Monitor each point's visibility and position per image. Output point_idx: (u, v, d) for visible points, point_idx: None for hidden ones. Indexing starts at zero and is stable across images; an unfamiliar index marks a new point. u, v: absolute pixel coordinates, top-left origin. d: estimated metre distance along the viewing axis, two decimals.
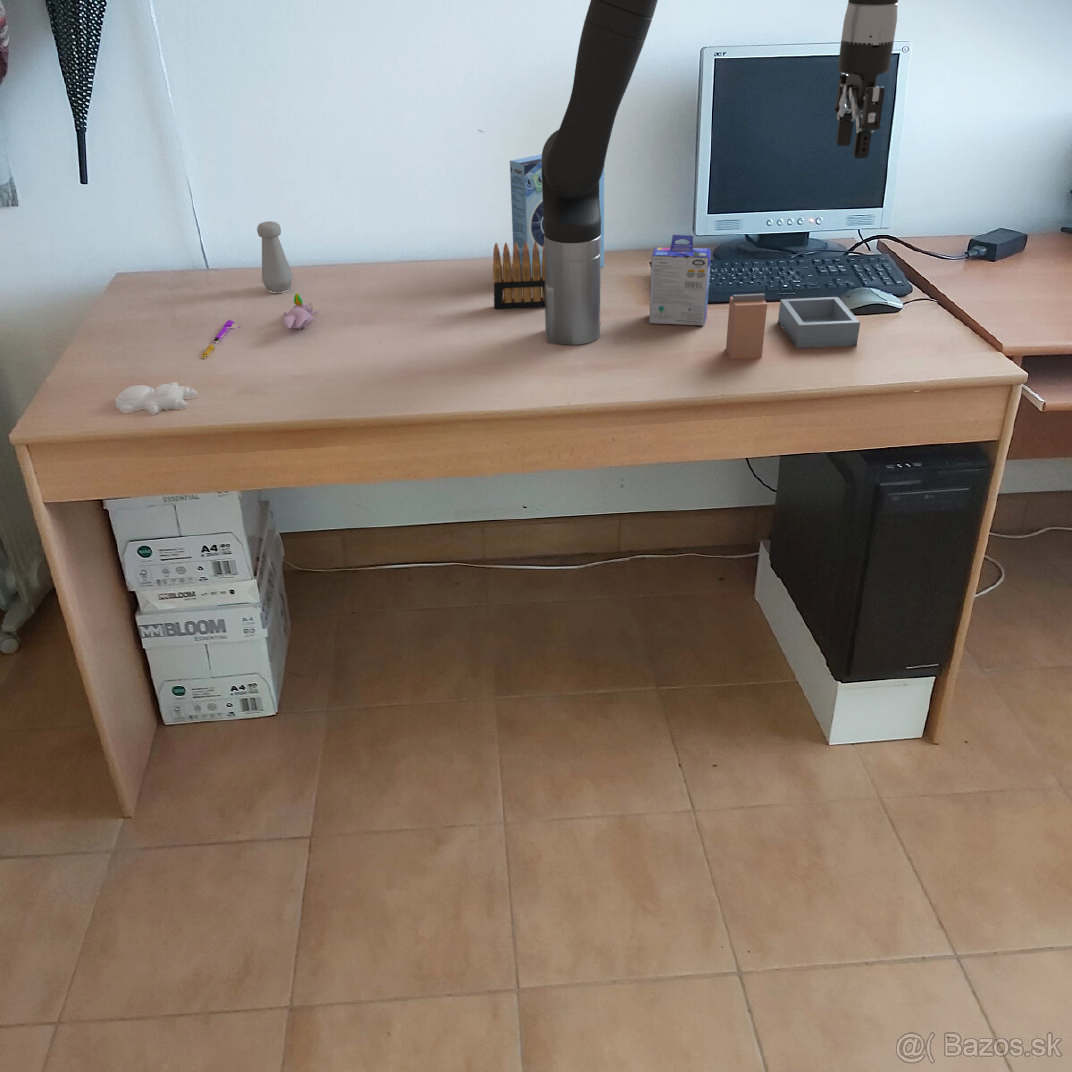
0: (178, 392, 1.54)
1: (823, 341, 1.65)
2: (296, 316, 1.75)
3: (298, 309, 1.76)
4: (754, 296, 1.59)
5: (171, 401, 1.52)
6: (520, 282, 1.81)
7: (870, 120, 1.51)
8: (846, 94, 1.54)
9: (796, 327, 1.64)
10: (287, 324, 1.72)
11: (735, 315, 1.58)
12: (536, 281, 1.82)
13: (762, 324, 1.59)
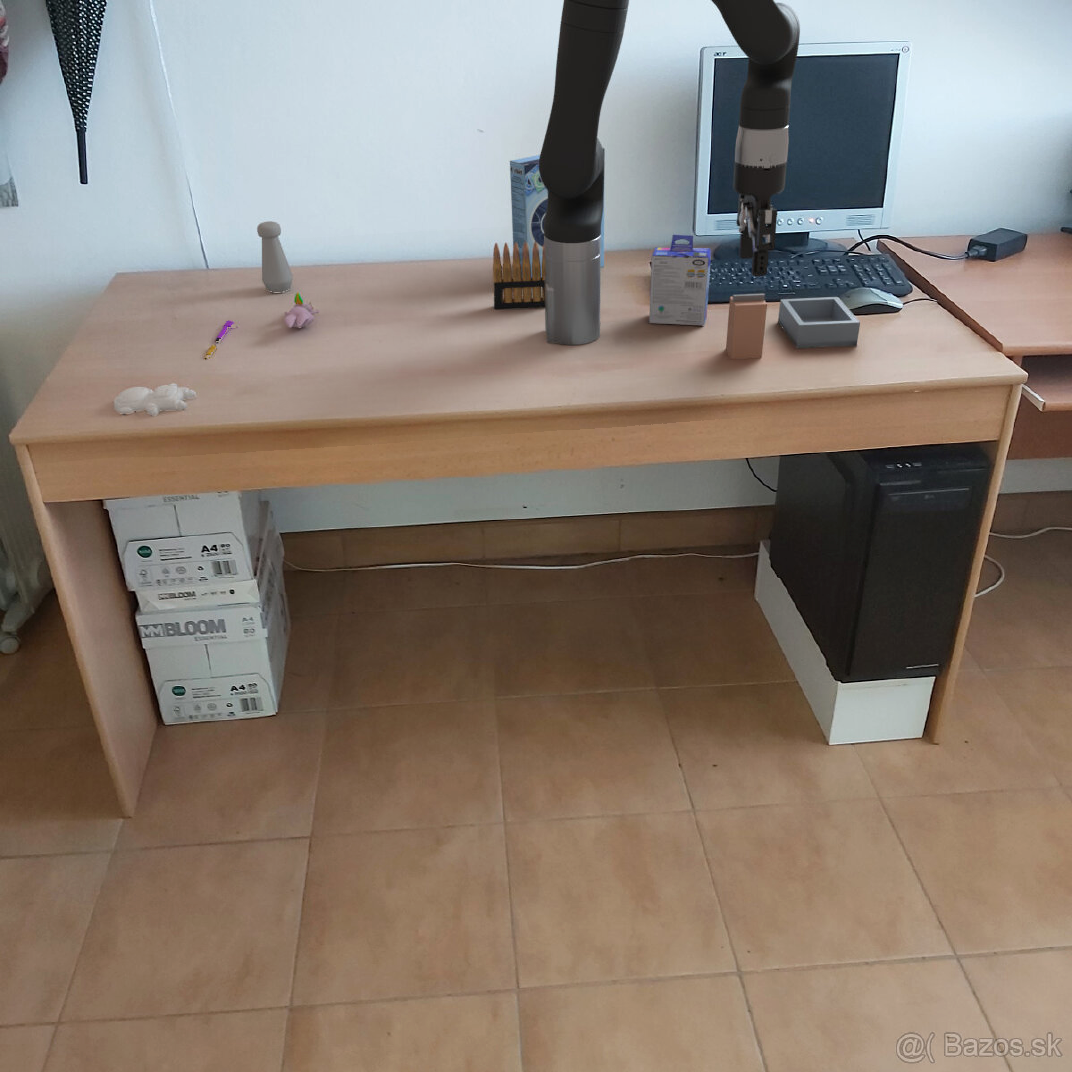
0: (177, 393, 1.53)
1: (823, 341, 1.65)
2: (297, 315, 1.76)
3: (299, 308, 1.76)
4: (754, 296, 1.59)
5: (171, 403, 1.51)
6: (520, 282, 1.81)
7: (766, 239, 1.50)
8: (744, 211, 1.53)
9: (796, 327, 1.64)
10: (288, 323, 1.72)
11: (735, 315, 1.58)
12: (536, 281, 1.82)
13: (762, 324, 1.59)
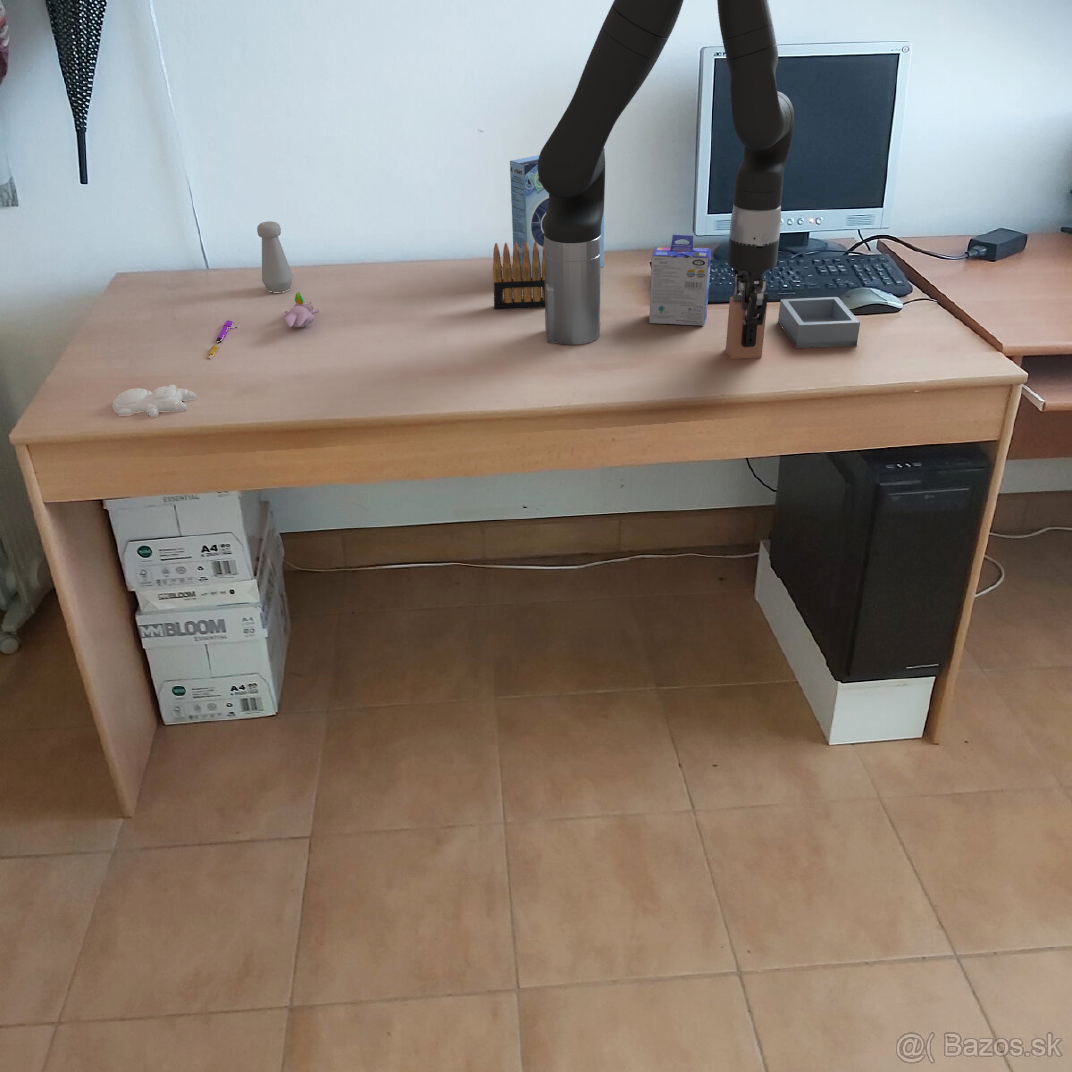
0: (177, 394, 1.53)
1: (823, 341, 1.65)
2: (297, 315, 1.76)
3: (299, 308, 1.76)
4: None
5: (170, 404, 1.51)
6: (520, 282, 1.81)
7: (756, 314, 1.58)
8: (738, 283, 1.58)
9: (796, 327, 1.64)
10: (288, 323, 1.73)
11: (735, 315, 1.58)
12: (536, 281, 1.82)
13: (762, 324, 1.59)
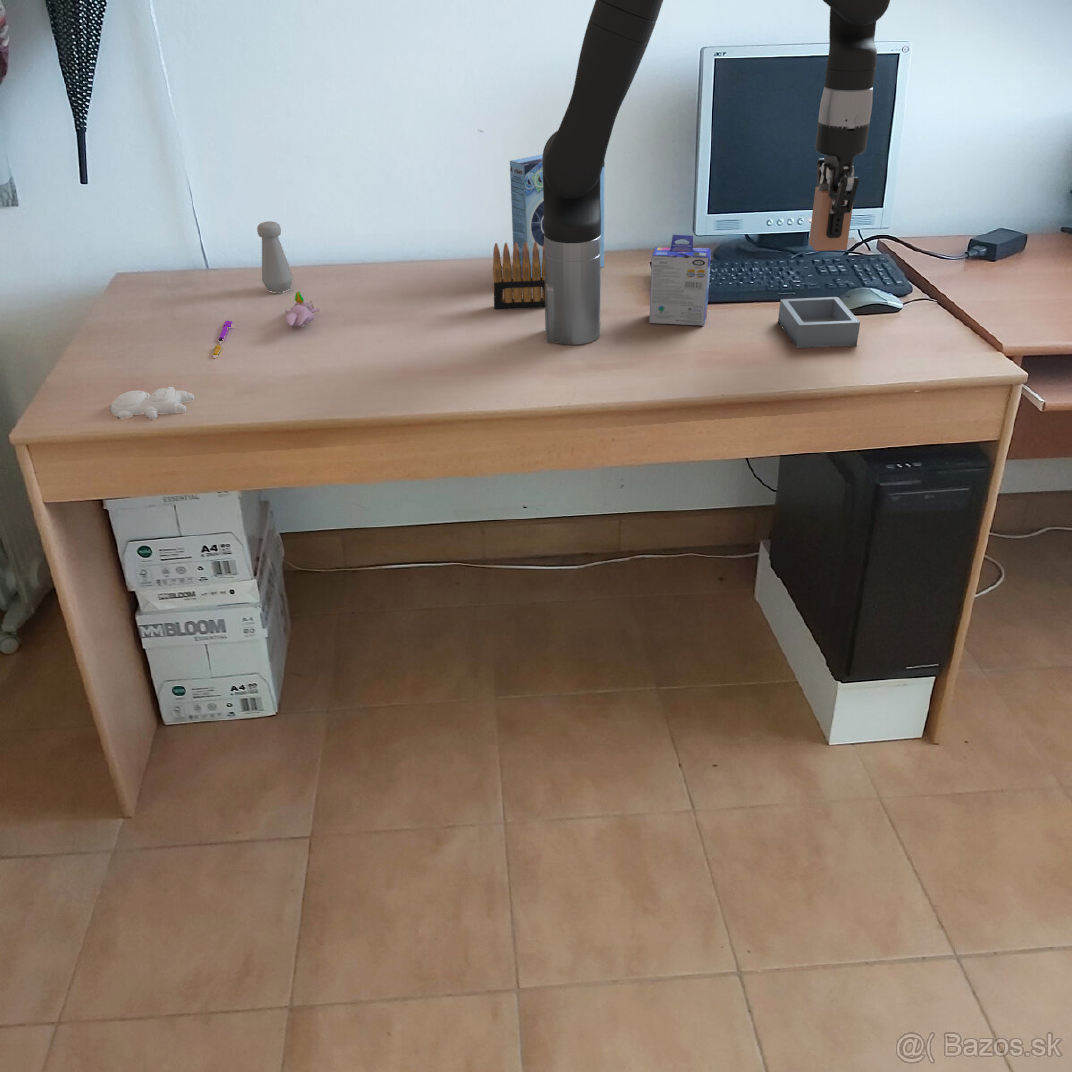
0: (176, 396, 1.52)
1: (823, 341, 1.65)
2: (298, 314, 1.76)
3: (299, 307, 1.77)
4: None
5: (170, 406, 1.50)
6: (520, 282, 1.81)
7: (843, 202, 1.56)
8: (824, 172, 1.57)
9: (796, 327, 1.64)
10: (289, 322, 1.73)
11: (822, 204, 1.56)
12: (536, 281, 1.82)
13: (849, 214, 1.58)
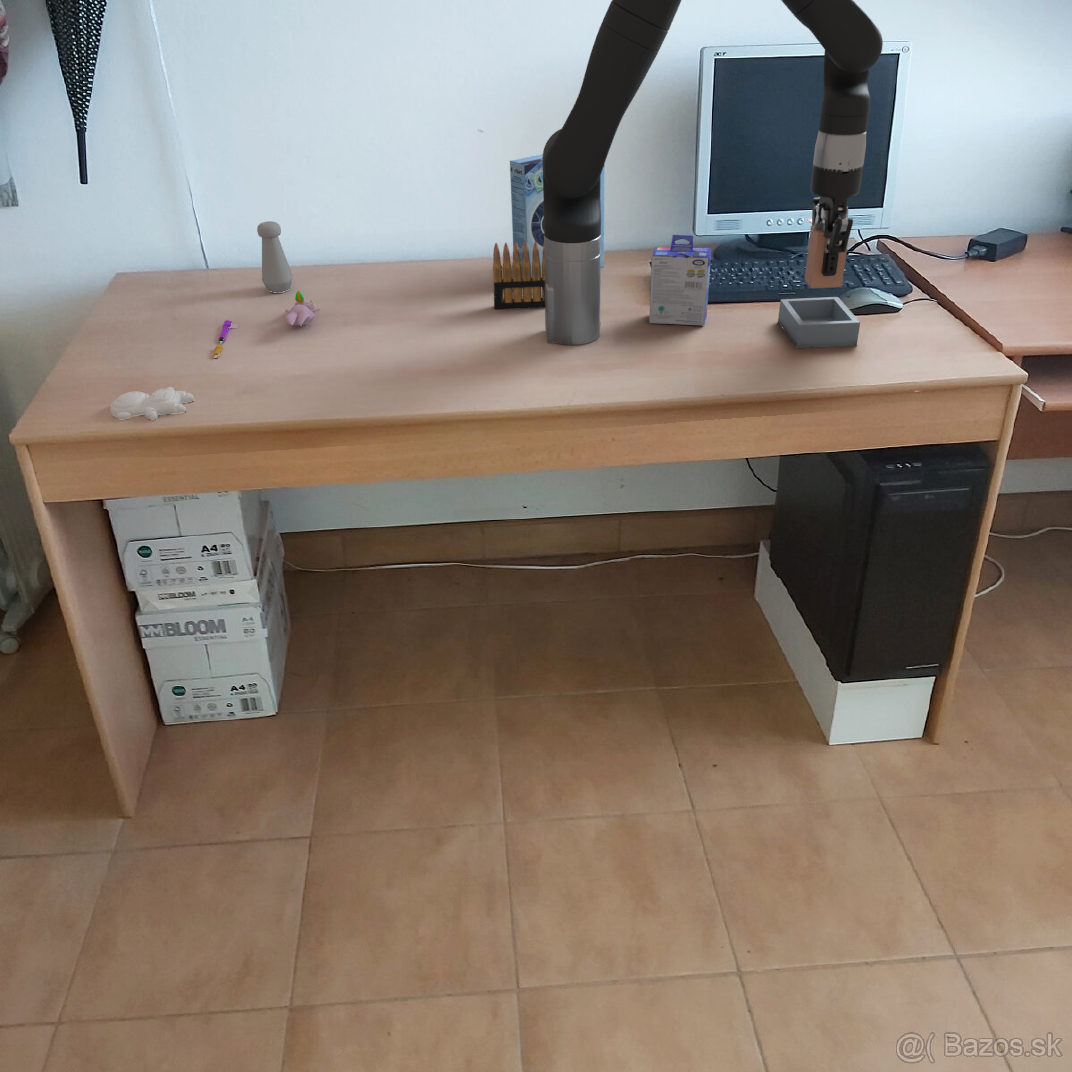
0: (175, 397, 1.52)
1: (823, 341, 1.65)
2: (298, 313, 1.76)
3: (300, 306, 1.77)
4: None
5: (170, 406, 1.50)
6: (520, 282, 1.81)
7: (838, 242, 1.59)
8: (819, 212, 1.60)
9: (796, 327, 1.64)
10: (289, 321, 1.73)
11: (817, 243, 1.60)
12: (536, 281, 1.82)
13: (843, 252, 1.61)
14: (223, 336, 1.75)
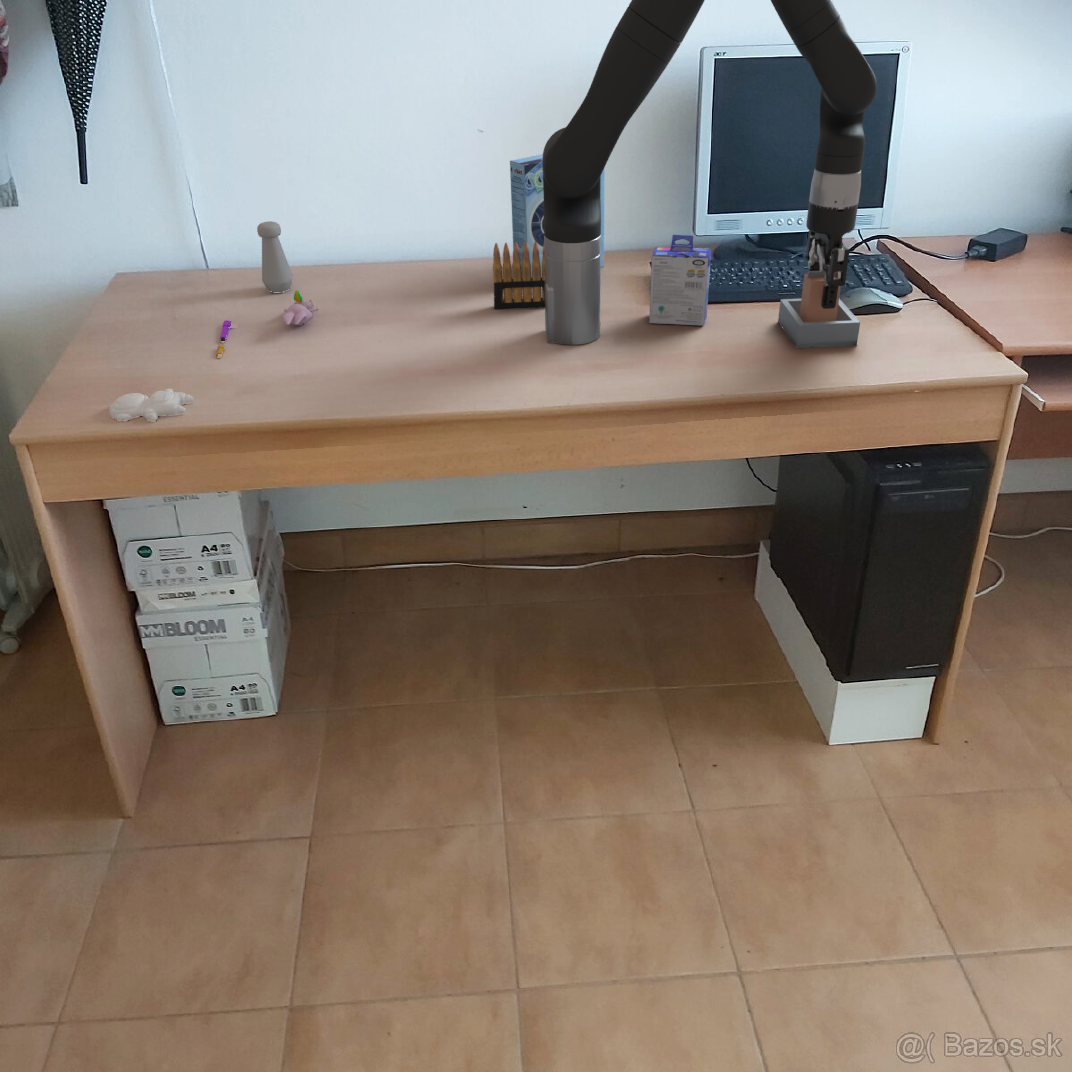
0: (175, 398, 1.52)
1: (823, 341, 1.65)
2: (295, 313, 1.77)
3: (297, 306, 1.77)
4: None
5: (170, 408, 1.50)
6: (520, 282, 1.81)
7: (837, 275, 1.61)
8: (815, 247, 1.63)
9: (796, 327, 1.64)
10: (286, 321, 1.73)
11: (810, 291, 1.64)
12: (536, 281, 1.82)
13: None
14: (224, 336, 1.75)
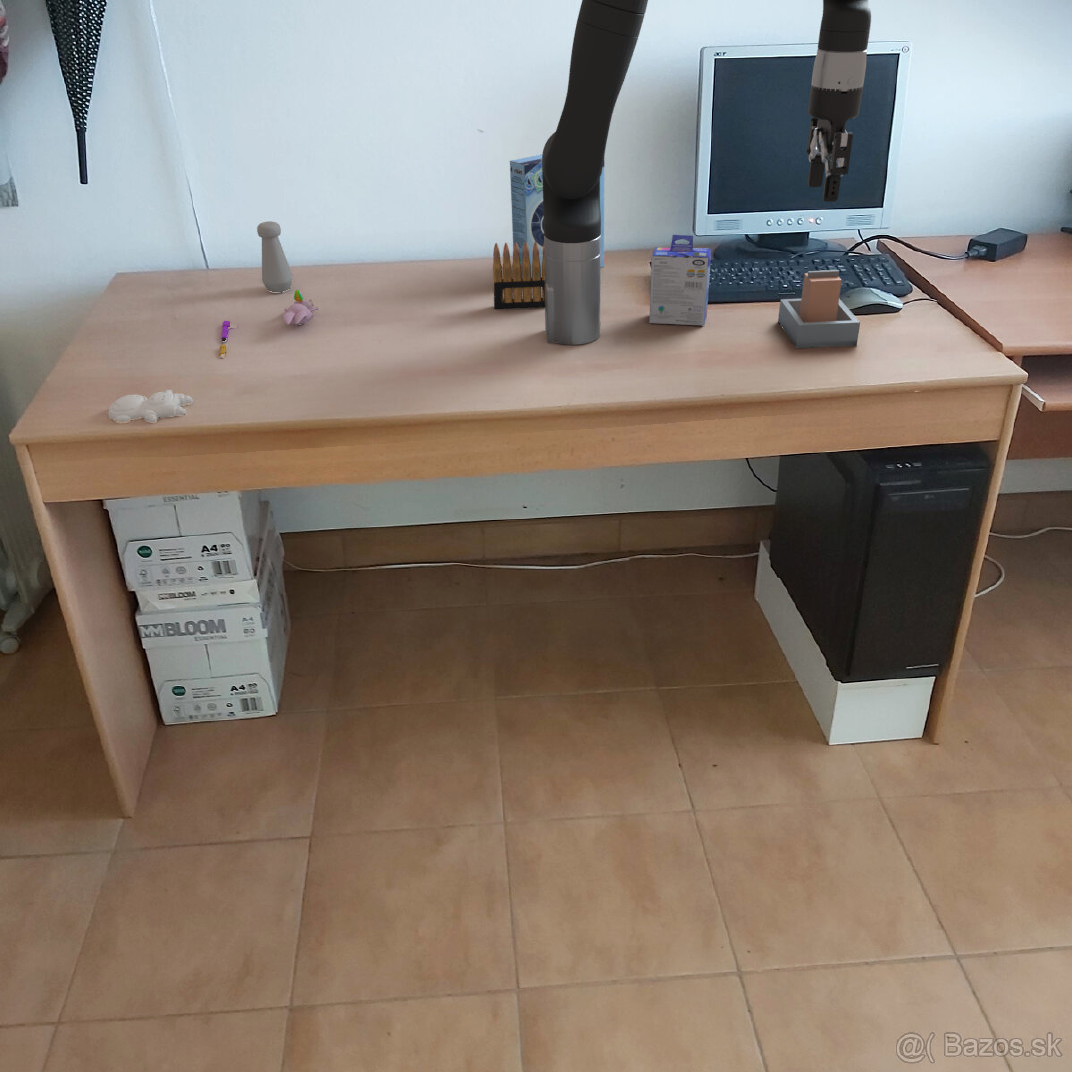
0: (174, 399, 1.51)
1: (823, 341, 1.65)
2: (296, 312, 1.77)
3: (298, 305, 1.78)
4: (829, 272, 1.64)
5: (169, 409, 1.49)
6: (520, 282, 1.81)
7: (839, 164, 1.52)
8: (816, 137, 1.55)
9: (796, 327, 1.64)
10: (286, 320, 1.74)
11: (810, 291, 1.64)
12: (536, 281, 1.82)
13: (836, 299, 1.65)
14: (225, 336, 1.75)
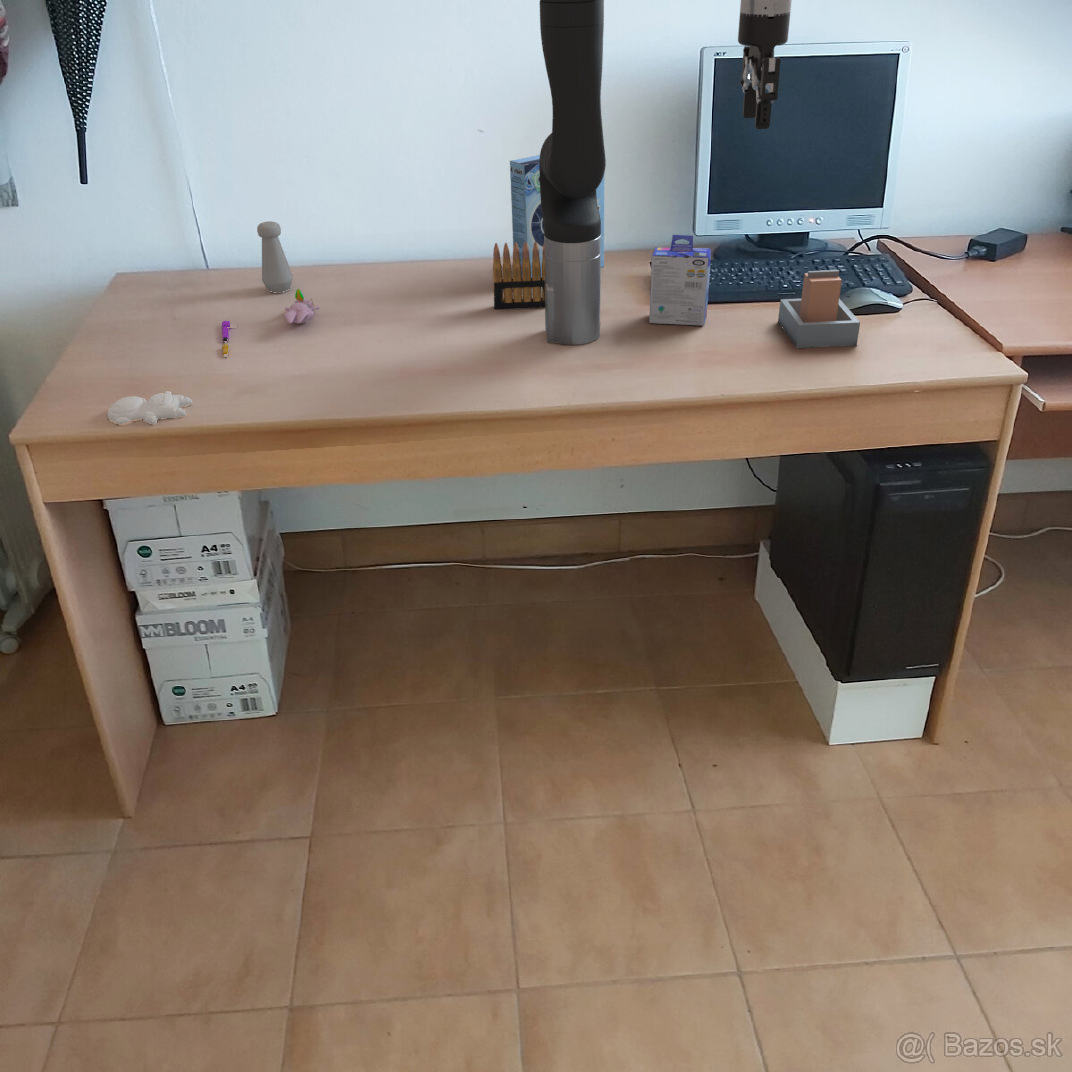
0: (174, 401, 1.51)
1: (823, 341, 1.65)
2: (297, 311, 1.77)
3: (299, 304, 1.78)
4: (829, 272, 1.64)
5: (169, 410, 1.49)
6: (520, 282, 1.81)
7: (769, 91, 1.54)
8: (748, 66, 1.57)
9: (796, 327, 1.64)
10: (288, 319, 1.74)
11: (810, 291, 1.64)
12: (536, 281, 1.82)
13: (836, 299, 1.65)
14: (226, 336, 1.75)
